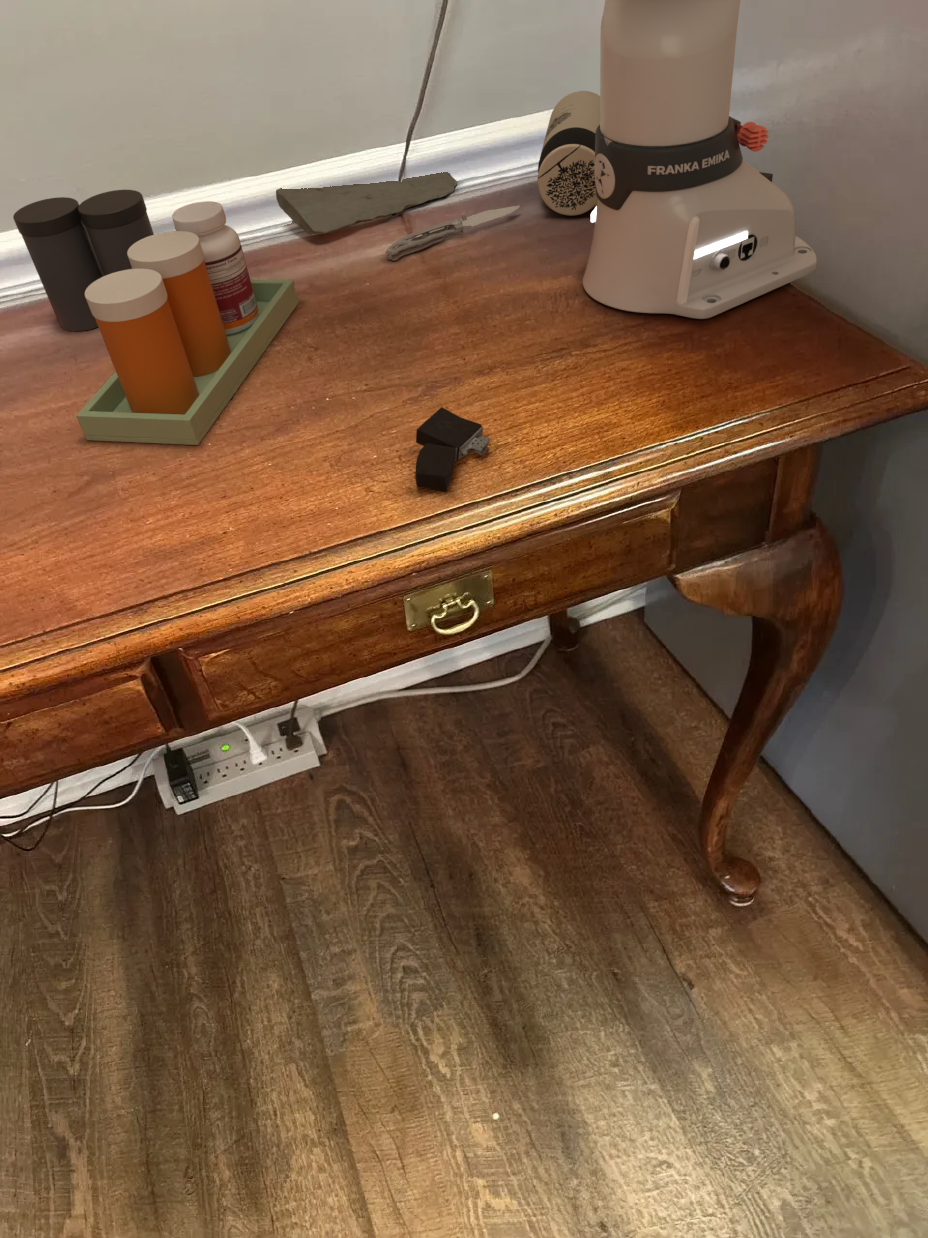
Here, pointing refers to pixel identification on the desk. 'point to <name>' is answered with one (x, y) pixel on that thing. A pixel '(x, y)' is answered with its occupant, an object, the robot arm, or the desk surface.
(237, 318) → the pill bottle
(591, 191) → the travel mug
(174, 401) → the bottle
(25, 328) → the desk surface
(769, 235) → the robot arm
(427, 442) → the lighter
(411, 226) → the desk surface
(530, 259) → the desk surface
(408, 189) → the stone slab
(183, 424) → the tray
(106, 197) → the grey canister
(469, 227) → the knife
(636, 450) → the desk surface
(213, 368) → the bottle
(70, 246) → the grey canister
